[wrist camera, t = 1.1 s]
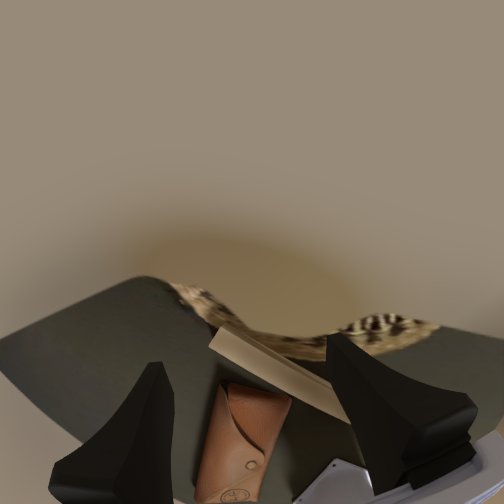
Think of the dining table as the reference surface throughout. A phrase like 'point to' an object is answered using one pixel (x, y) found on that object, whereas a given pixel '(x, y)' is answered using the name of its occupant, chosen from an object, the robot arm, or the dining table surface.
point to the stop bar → (277, 370)
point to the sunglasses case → (239, 443)
